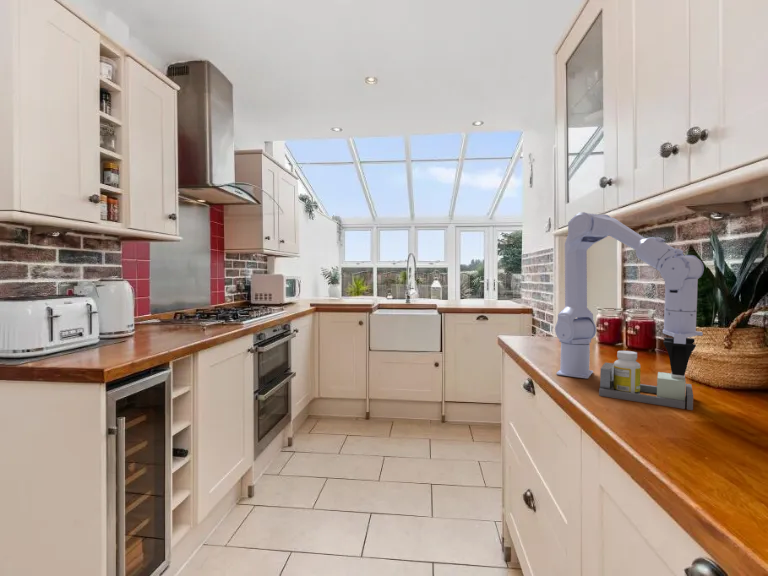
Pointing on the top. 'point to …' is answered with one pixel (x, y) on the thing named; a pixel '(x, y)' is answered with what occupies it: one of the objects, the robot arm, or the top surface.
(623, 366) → the supplement bottle
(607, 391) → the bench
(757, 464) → the top surface
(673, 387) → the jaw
